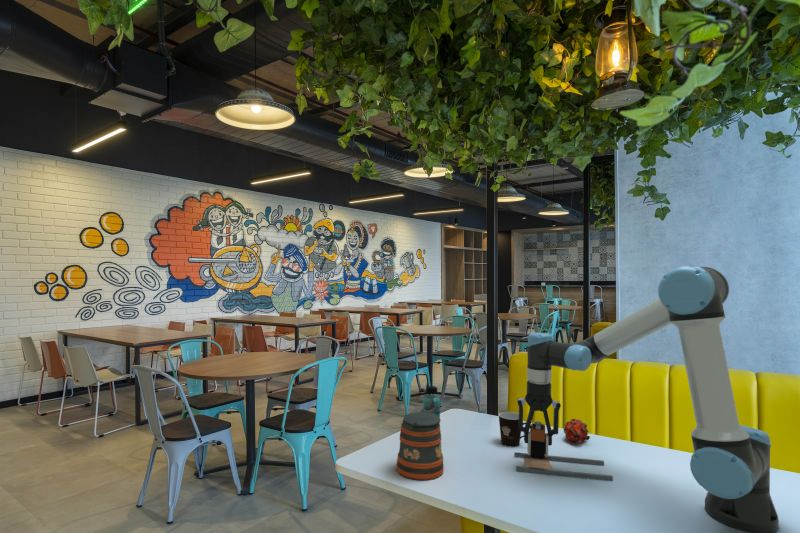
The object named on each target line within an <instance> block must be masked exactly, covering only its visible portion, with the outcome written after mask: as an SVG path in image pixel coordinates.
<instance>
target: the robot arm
mask: <svg viewBox="0 0 800 533" xmlns="http://www.w3.org/2000/svg"><path fill="white" fill-rule="evenodd" d="M657 292H658V293H657V294H658V299H656V300H654V301H653V302H651V303H648V304H646V305H645V306H643V307H642V308H640V309H638V310H636V311H634V312H633V313H631V314H629V315H627V316H625V317H624V318H621V319H620V320H618V321H616V322H614V323H612V324H610V325H609V326H607V327H605V328H604V329H602V330H600V331H598V332H596V333H595V334H593V335H591V336H589V337H587V338H586V339H584V340H581V341H575V342H569V343H567V342H558V341H554V340H553V336H552V334H550V333H547V332H531V333H529V334H528V336H527V345H526V347H527V348H526V349H527V364H526V365H527V366H526V368H527V369H526V379H527V381H526V395H525V396H524V398H523V397H522V398H517V400H516V402H517V405H518V414H519V431H521V433H523V435H524V437H523V441H524V444H527V447H526V448H527V454H528V455H530V451H531V433H530V425H531V424H532V423H533V422H532V421H533V418H534V414H535V412H538V411H539V412H542V414H543V418H544V422H545V428H546V432H545V456H546V457H548V456H549V446H551V447H552V445H553V435H558V434H559V419H560V418H559V417H560V416H559V415H560V408H561V407H562V404H561V403H560V401H556V400H553V397H552V383H551V382H552V366H553V367H558V368H562V369H567V370H572V371H580V372H581V371H582V372H584V371H587V370H588V369H589V367H590V366H591V365H592V364H597V363H600V362H601V361H603V360H604V359H605V358H606V357H609V356H610V355H612V354H614V353H616V352H619V351H620V350H622V349H624V348H626V347H627V346H630V345H632V344H635V343H636V342H638V341H639V340H641V339H644V338H646V337H648V336H649V335H651V334H654V333H655V332H657V331H660V330H662V329H664V328H665V327H668V326H670V325H673V326H675V327H676V329H677V330H678V333H679V334H678V335H679V340H680V344H681V351H682V354H683V361H684V365H685V370H686V371H685V372H686V376H687V377H686V378H687V381H688V388H689V392H690V397H691V403H692V407H693V408H692V409H693V414H694V419H695V422H696V426H695V428H693V430H692V431H691V432H690V434H691V441H692V447H693V448H692V449H693V453H692V455H691V458H690V461H689V462H690V463H689V466H690V472H691V474H692V477H693V478H694V480H695V481H696V482H697V484H698V485H699V486H701V487H702V488H703V490H705V491H707V493H706V496H705V498H704V511H705V512H706V513H707V514H708V515H709V516H711V518H714V519H715V520H717V521H718V522H720V523H722V524H724V525H726V526H729V527H732V528H735V529H738V530H740V531H741V530H742V531H746V532H750V533H776V532H777V531H779V525H780V524H779V516H778V513H777V510H776V507H775V504H774V502H773V499H772V496H771V492H770V491H771V490H770V489H771V486H770V484H771V482H770V481H771V447H772V444H771V439H770V437H771V436H770V435H769V434H768V433H767V432H765V431H763V430H760V429H757V428H754V427H751V426H750V427H749V426H747V425H742V424H740V422H739V421H740V420H739V417H738V412H737V407H736V403H735V398H734V393H733V392H734V391H733V388H732V383H731V378H730V377H731V376H730V372H729V369H728V368H729V367H728V363H727V358H726V352H725V347H724V343H723V342H724V341H723V338H722V334H721V333H722V332H721V328H720V324H722V323H723V321H724V320H725V319H726V315H725V310H724V303H725V302H726V301H727V298H728V297H729V294H730V284H729V282H728V280H727V279H726V277H725V275H723V273H721V272H720V271H718V270H717V269H714V268H712V267H708V266H697V265H692V264H691V265H683V266H678V267H675V268H673V269H671V270H669V271H668V272H667V273H665V274H664V275H663V277H662V278H661V280H660V281H659V284H658V289H657ZM525 403H526V404H527V405H528V407H529V410H528V415H527V418H526V422H525V423H526V424H524V425H523V423H524V406H525ZM551 405H552V409H553V423H552V426H553V427H552V426H551V421H550V418H549V413H548V408H549V407H551Z"/></svg>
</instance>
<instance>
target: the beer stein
mask: <svg viewBox="0 0 800 533" xmlns="http://www.w3.org/2000/svg"><path fill="white" fill-rule="evenodd" d="M438 409H439V406H434V398H430V399H429V400H428V402H427V406H425V407H424V408H423V407H422V408H421V410H420V411H415V412H410V413H408V414H405V415H404V416H403V419H402V422H401V424H400V433H399V441H400V442H399V451H398V453H397V458H396V467H395V468H396V472H398V474H400V475H401V476H403V477H404V478H407V479H410V480H417V481H426V480H427V481H429V480H433V479H436V478H439V477H441V476H442V475H443V473H444V470H445V468H444V455H443V453H442V452H443V450H442V439H443V438H442V433H441V431H442V430H441V418H439V417H438V416H437V415H435V412H436V411H437V410H438ZM439 423H440V424H439Z"/></svg>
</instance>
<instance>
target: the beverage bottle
mask: <svg viewBox="0 0 800 533" xmlns="http://www.w3.org/2000/svg"><path fill="white" fill-rule="evenodd" d="M425 393H426V394H428V395H425V396H424V397H423V399H422V409H423V408H424V407H425V406H427V402H428V400H429V399H430V398H434V406H439V409H438V410H437V411H436V412H435V415H437V416H438V417H439V418H440V417H441V399H440V397H439V396H438V395H437V394H438V387H437V386H434V385H433V386H432V385H430V386H426V390H425ZM440 419H441V418H440ZM439 424H440V425H441V422H440V423H439Z"/></svg>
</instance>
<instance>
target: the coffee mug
mask: <svg viewBox="0 0 800 533" xmlns="http://www.w3.org/2000/svg"><path fill="white" fill-rule="evenodd" d="M498 423H499V431H500V442H501V444H502V445H503V446H505V445H506V447H509V446H511V447H512V448H515V447H520V444H521V443H520V442H521V439H522V438H523V439H524V434H523V435H521V434H522V431H519V412H515V411H514V412H513V411H503V412H499V413H498ZM525 424H526V422H523V426H525ZM529 432H530V433H531V425H530V429H529ZM511 447H510V448H511Z"/></svg>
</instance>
